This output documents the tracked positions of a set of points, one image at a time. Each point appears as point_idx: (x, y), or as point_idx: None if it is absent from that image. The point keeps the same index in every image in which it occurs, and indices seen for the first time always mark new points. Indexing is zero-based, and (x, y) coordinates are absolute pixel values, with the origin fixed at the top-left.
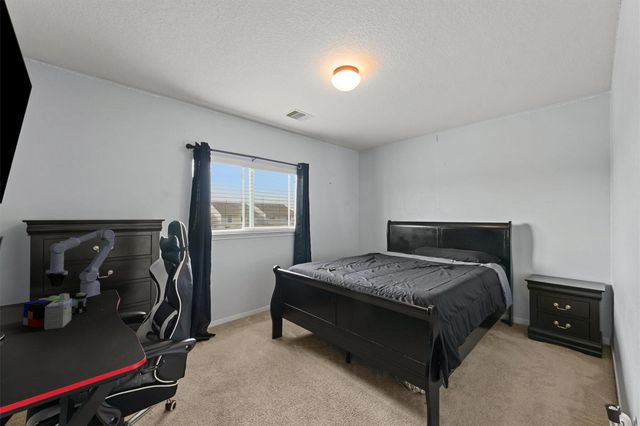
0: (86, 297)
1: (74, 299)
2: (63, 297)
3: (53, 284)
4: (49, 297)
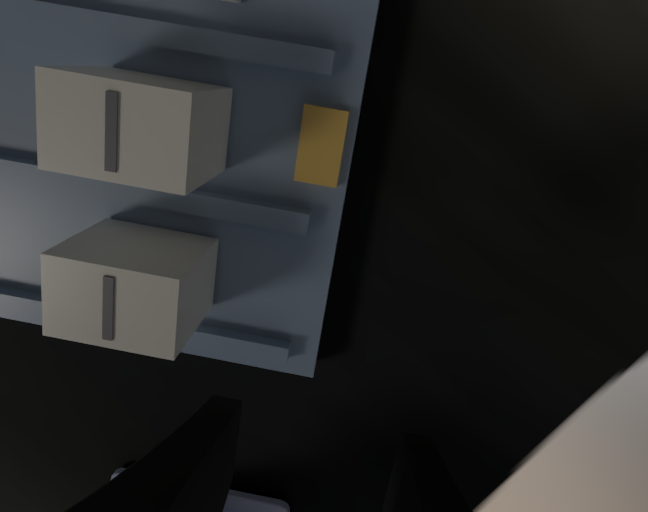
0: (115, 474)
1: (22, 296)
2: (90, 241)
3: (398, 490)
4: (182, 88)
